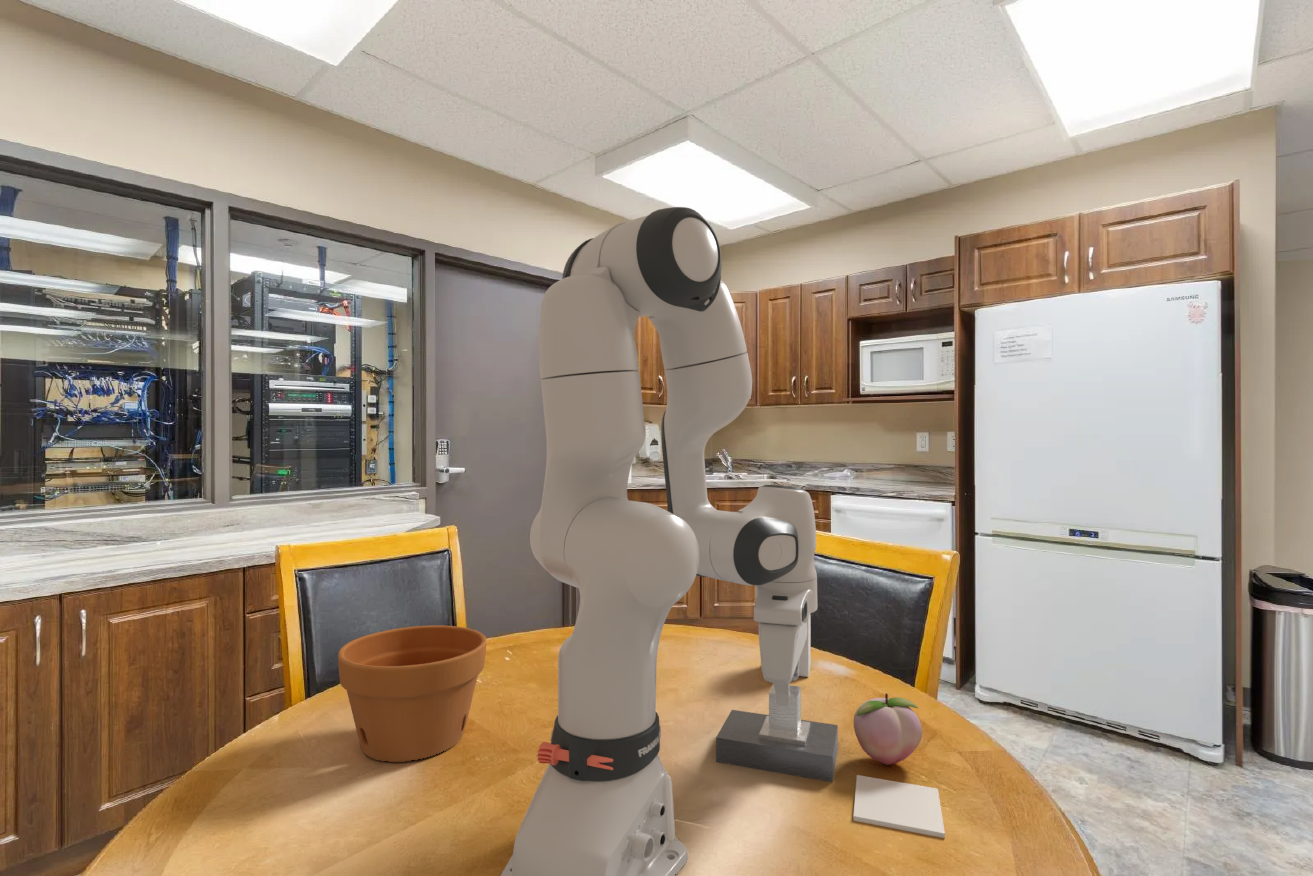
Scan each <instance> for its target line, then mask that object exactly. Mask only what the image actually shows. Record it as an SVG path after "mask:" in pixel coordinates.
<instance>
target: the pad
mask: <svg viewBox="0 0 1313 876" xmlns="http://www.w3.org/2000/svg"><path fill="white" fill-rule="evenodd" d="M855 781H856V782H855V793H854V805H853V806H854V807H853V815H852V816H853V818H852V819H853V821H854V822H859V823H864V824H870V825H875V826H880V827H883V828H884V827H885V828H891V829H895V830H896V829H897V830H900V831H906V832H910V833H917V834H920V835H921V834H922V835H927V836H930V837H938V838H942V839H946V832H945V826H944V819H943V814H942V806H941V800H940V794H939V789H938V788H937V787H931V786H930V787H929V786H925V785H920V784H919V785H918V784H914V783H913V784H912V783H906V782H901V781H896V780H895V781H893V780H889V779H883V778H876V777H870V776H864V775H859V774H856V779H855Z"/></svg>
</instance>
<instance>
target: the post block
mask: <svg viewBox="0 0 1313 876" xmlns="http://www.w3.org/2000/svg"><path fill="white" fill-rule="evenodd" d="M767 716H769V714H764V713H757V712H751V711H743V710H736V709H731V710H730V712H729V714H728V716H727V718H726V719H725V722H723V725H722V726H721V728H720V730H719V732H718V733H717V735H716V737H715V762H716V763H720V764H727V765H733V766H736V767H737V766H739V767H742V768H743V767H744V768H748V769H755V770H759V771H766V772H772V773H777V774H783V775H788V776H794V777H800V778H806V779H812V780H816V781H817V780H818V781H822V782H829V783H833V782H834V776H835V771H836V770H835V769H836V763H837V756H838V750H839V748H838V747H839V743H838V742H839V740H838V739H839V733H838V732H839V730H838V729H839V727H838V724H834V723H833V724H832V723H826V722H825V723H824V722H819V721H811V720H805V719H801V721H805V722H810V729H809V733H808V737H807V741H806V744H805V746H804V745H797V744H791V743H785V742H779V741H772V740H766V739H760V738H759V733H760V731H761V728H762V726H763V724H764V721H765V719H766V717H767Z"/></svg>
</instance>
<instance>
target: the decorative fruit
mask: <svg viewBox="0 0 1313 876" xmlns="http://www.w3.org/2000/svg"><path fill="white" fill-rule="evenodd" d="M888 697H889V694H888V693H884V697H876V698H875V697H874V698H871V699H868V700H866V701H864V702H863V703H861V705H859V706H858V707H857V709H856V711H855V713H854V716H853V728H854V729H853V731H854V733H855V734H854V735H855V736H856V738H857V741H858V743H859V745H860V747H861V748H862V751H863V752H864V753H865V754H866V755H868V756H869V757H870V758H871V759H873V760H875V761H877V762H878V763H880V764H882V765H885V766H889V765H894V764H895V765H896V764H897V763H900V762H903V761H904V760H906V759H907V758H908V757H909V756H911V755H912V754H913V753H914V752H915V751H916V750H917V747H918V746H919V744H920V743H921V740H922V737H923V727H922V723H921V720H920V718H919V717H918V715H917V714H916V712H914V710H913V709H912V708H914V709H919V707H918V706H917V705H916V704H915V703H914V702H913V701H911V700H909V699H907V698H904V697H899V696H898V697H897V696H896V697H891V698H888Z"/></svg>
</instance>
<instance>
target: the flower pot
mask: <svg viewBox="0 0 1313 876" xmlns="http://www.w3.org/2000/svg"><path fill="white" fill-rule="evenodd" d="M486 651H487V637H486V635H485V634H483V633H482V632H480V630H479V631H478V630H477V629H472V628H469V627H464V626H454V625H443V624H442V625H437V624H436V625H435V624H434V625H418V626H417V625H414V626H406V627H399V628H392V629H388V630H383V631H378V632H375V633H371V634H368V635H364V636H360V637H358V638H355V639H353V640H351V641H348V642H347V643H345V644H344V645H343V646H342V647H340V649H339V650H338V652H337V653H338V655H337V660H338V661H337V662H338V676H339V684H340V686H341V688H343V689H344V690H345V691H346V694H347V696H348V702H349V705H350V708H351V714H352V718H353V722H354V726H355V730H356V733H357V737H358V741H359V744H360V748H361V750H362V753H363V754H364V755H366V756H367V755H368V756H369V757H368V756H367V757H368V758H370V757H371V758H370V759H372V758H373V759H372V760H375V759H376V761H379V760H381V761H380V762H384V761H388V762H387V763H404V762H406V761H407V762H412V761H411V760H415V761H419V760H418V759H420V760H424V759H428V758H430V756H431V757H434V756H436V754H437V755H439V753H440V754H442V753H443V751H444V752H445V751H448V750H450V749H451V748H454V746H455V745H457V743H458V742H459V741H460V740H461V739H462V738H463V735H464V733H465V729H466V726H467V722H468V719H469V715H470V710H471V705H472V700H473V697H474V693H475V688H476V684H477V680H478V677H479V675H480V674H481V673H482V671H483V670H484V668H485V663H486V654H487V652H486ZM449 748H450V749H449ZM441 752H442V753H441ZM433 755H434V756H433ZM427 757H428V758H427ZM423 758H424V759H423Z"/></svg>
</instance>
